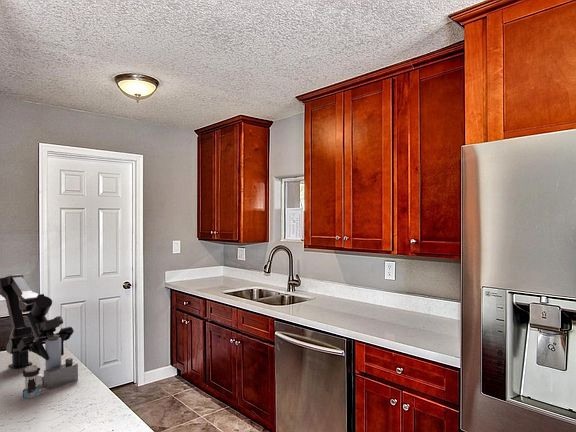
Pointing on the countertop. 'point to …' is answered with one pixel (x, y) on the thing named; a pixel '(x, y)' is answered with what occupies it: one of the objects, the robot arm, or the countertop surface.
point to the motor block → (59, 375)
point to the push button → (31, 382)
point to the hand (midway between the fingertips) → (55, 357)
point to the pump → (53, 351)
